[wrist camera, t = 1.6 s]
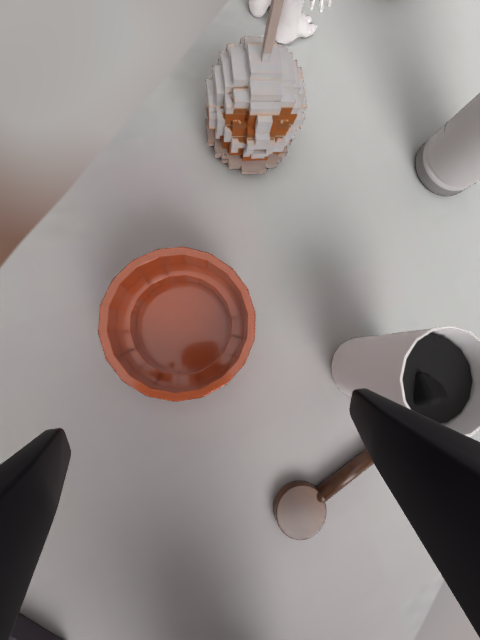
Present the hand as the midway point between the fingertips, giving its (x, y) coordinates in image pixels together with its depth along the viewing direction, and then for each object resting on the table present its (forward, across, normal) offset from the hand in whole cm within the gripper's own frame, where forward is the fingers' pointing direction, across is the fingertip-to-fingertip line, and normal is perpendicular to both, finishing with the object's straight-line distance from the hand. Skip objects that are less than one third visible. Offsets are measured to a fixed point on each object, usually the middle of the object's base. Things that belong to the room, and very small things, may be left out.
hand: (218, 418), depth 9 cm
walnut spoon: (+9, -10, +17) cm, 22 cm away
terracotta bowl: (+16, +2, +4) cm, 17 cm away
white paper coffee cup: (+14, -14, +9) cm, 22 cm away
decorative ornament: (+24, -6, -11) cm, 28 cm away
